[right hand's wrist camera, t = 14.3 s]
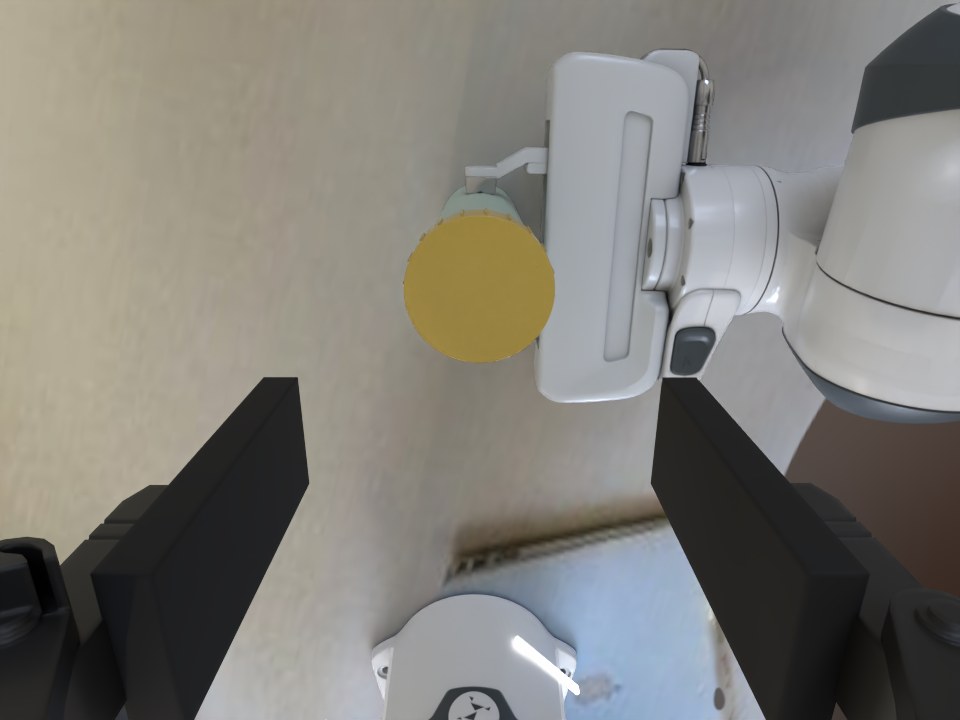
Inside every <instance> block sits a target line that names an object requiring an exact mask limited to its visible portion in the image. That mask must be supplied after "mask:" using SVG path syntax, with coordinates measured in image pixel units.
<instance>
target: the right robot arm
mask: <svg viewBox="0 0 960 720" xmlns="http://www.w3.org/2000/svg"><path fill="white" fill-rule="evenodd" d="M308 485H309V476H308V467H307V458H306V449H305V440H304V431H303V422H302V413H301V403H300V394H299V385H298V377H264V378H263V379H262V380H261V381H260V382H259V383H258V384H257V386H256V387H255V388H254V389H253V390H252V391H251V392H250V394H249V395H248V396H247V397H246V398H245V399H244V400H243V401H242V403H241V404H240V405H239V406H238V407H237V408H236V409H235V410H234V412H233V413H232V414H231V415H230V416H229V417H228V418H227V420H226V421H225V422H224V423H223V424H222V425H221V426H220V427H219V429H218V430H217V431H216V432H215V433H214V434H213V435H212V436H211V438H210V439H209V440H208V441H207V442H206V443H205V444H204V445H203V447H202V448H201V449H200V450H199V451H198V452H197V453H196V455H195V456H194V457H193V458H192V459H191V460H190V461H189V462H188V464H187V465H186V466H185V467H184V468H183V469H182V470H181V471H180V473H179V474H178V475H177V476H176V477H175V478H174V479H173V481H172V482H171V483H170V484H169V485H149V486H147V487H146V488H144V489H142V490H141V491H139V492H137V493H136V494H134V495H132V496H131V497H129V498H127V499H125V500H124V501H122V502H121V503H120V504H119V505H118V506H117V508H116V509H115V510H114V511H113V512H112V513H111V514H110V515H109V516H108V517H107V518H106V519H105V520H104V524H100V525H99V526H98V527H97V528H96V529H95V530H94V531H93V532H92V533H91V534H90V535H89V540H84V542H83V543H82V544H81V545H80V546H79V547H78V548H77V549H76V550H75V551H74V552H73V553H72V554H71V555H70V556H69V557H68V558H67V559H66V560H65V561H64V562H63V563H62V564H61V565H59V561H58V558H57V554H56V550H55V547H54V545H53V544H51V543H50V542H48V541H47V540H45V539H41V538H32V537H21V538H13V539H5V540H1V541H0V720H115V718H116V716H117V715H118V713H119V712H120V710H121V708H122V707H123V705H124V704H125V708H126V712H127V715H128V719H129V720H194V719H195V717H196V715H197V713H198V711H199V709H200V707H201V705H202V702H203V700H204V698H205V696H206V694H207V692H208V690H209V688H210V686H211V684H212V682H213V680H214V678H215V676H216V674H217V672H218V670H219V668H220V666H221V663H222V661H223V659H224V657H225V655H226V653H227V651H228V649H229V647H230V645H231V643H232V641H233V639H234V637H235V635H236V633H237V631H238V629H239V627H240V624H241V622H242V620H243V618H244V616H245V614H246V612H247V610H248V608H249V606H250V604H251V602H252V600H253V598H254V596H255V594H256V592H257V590H258V588H259V586H260V583H261V581H262V579H263V577H264V575H265V573H266V571H267V569H268V567H269V565H270V563H271V561H272V559H273V557H274V555H275V553H276V551H277V549H278V547H279V544H280V542H281V540H282V538H283V536H284V534H285V532H286V530H287V528H288V526H289V524H290V522H291V520H292V518H293V516H294V514H295V512H296V510H297V508H298V505H299V503H300V501H301V499H302V497H303V495H304V493H305V491H306V489H307V487H308ZM651 485H652V487H653V489H654V491H655V493H656V495H657V497H658V499H659V501H660V503H661V505H662V508H663V510H664V512H665V514H666V516H667V518H668V520H669V522H670V524H671V526H672V528H673V530H674V532H675V534H676V536H677V538H678V540H679V542H680V544H681V547H682V549H683V551H684V553H685V555H686V557H687V559H688V561H689V563H690V565H691V567H692V569H693V571H694V573H695V575H696V577H697V579H698V581H699V583H700V586H701V588H702V590H703V592H704V594H705V596H706V598H707V600H708V602H709V604H710V606H711V608H712V610H713V612H714V614H715V616H716V618H717V620H718V622H719V624H720V627H721V629H722V631H723V633H724V635H725V637H726V639H727V641H728V643H729V645H730V647H731V649H732V651H733V653H734V655H735V657H736V659H737V661H738V663H739V666H740V668H741V670H742V672H743V674H744V676H745V678H746V680H747V682H748V684H749V686H750V688H751V690H752V692H753V694H754V696H755V698H756V700H757V702H758V705H759V707H760V709H761V711H762V713H763V715H764V717H765V719H766V720H831V719H832V715H833V712H834V708H835V704H836V702H837V704H838V705H839V707H840V708H841V710H842V712H843V713H844V715H845V716H846V718H847V719H848V720H960V597H957V596H955V595H951V594H948V593H945V592H942V591H939V590H932V589H925V588H924V587H923V586H922V585H921V584H920V583H919V582H918V581H917V580H916V579H915V578H914V577H913V576H912V575H911V573H910V572H909V571H908V570H907V569H906V568H905V567H904V566H903V565H902V564H901V563H900V562H899V561H898V560H897V559H896V558H895V557H894V556H893V555H892V554H891V553H890V552H889V551H888V550H887V549H886V548H885V547H884V546H883V545H882V544H881V543H880V542H879V541H878V540H877V539H876V538H875V537H874V538H872V536H871V533H870V532H869V530H868V529H867V528H866V527H865V526H864V525H863V524H862V523H861V522H857V521H856V517H855V516H854V515H853V514H852V513H851V512H850V511H849V510H848V509H847V508H846V507H845V506H844V505H843V504H842V503H841V502H840V501H839V500H838V499H837V498H835V497H833V496H832V495H830V494H828V493H827V492H825V491H823V490H822V489H820V488H818V487H816V486H815V485H813V484H811V483H789V482H788V481H787V479H786V478H785V477H784V476H783V475H782V474H781V473H780V471H779V470H778V469H777V468H776V467H775V466H774V465H773V464H772V462H771V461H770V460H769V459H768V458H767V457H766V456H765V455H764V453H763V452H762V451H761V450H760V449H759V448H758V447H757V445H756V444H755V443H754V442H753V441H752V440H751V439H750V438H749V436H748V435H747V434H746V433H745V432H744V431H743V430H742V429H741V427H740V426H739V425H738V424H737V423H736V422H735V421H734V420H733V418H732V417H731V416H730V415H729V414H728V413H727V412H726V410H725V409H724V408H723V407H722V406H721V405H720V404H719V403H718V401H717V400H716V399H715V398H714V397H713V396H712V395H711V394H710V392H709V391H708V390H707V389H706V388H705V387H704V386H703V384H702V383H701V382H700V381H699V380H698V379H697V378H696V377H662V385H661V394H660V403H659V413H658V422H657V431H656V440H655V449H654V458H653V467H652V476H651Z"/></svg>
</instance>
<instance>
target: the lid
mask: <svg viewBox="0 0 960 720" xmlns="http://www.w3.org/2000/svg"><path fill="white" fill-rule="evenodd" d="M545 252H547V250H546V248H545V247H544V245H543V243H542V244H540V242H539V240H538V239H537V238H536V236H535V235H534V234H533V233H532V231H531V229H530V227H529V226H527V227H526V226H525V225H524V224H522V223H521V222H520V221H518V220H516V219H515V218H513V217H511V215H510V214H509V213H508V214H507V215H506V214H504V213H501V212H497V211H493V210H487V208H485V209H473V210H466V211H464V209H462V210H461V212H458V213H455V214H453V215H450V216H448V217H446V218H444V219H442V218H441V219H440V220H439V222H438V223H437V224H436V225H434V226H433V227H432V228H431V229H430V230H429V231H428V232H427V233H426V234H425V233H423V235H422V236H421V238H420V242H419V244H418V246H417V248H416V249H415V251H414V253H411V255H410V257H409V259H408V262H409V264H408V267H407V270H406V274H405V280H404V282H403V284H404V298H405V304H406V308H407V311H408V314H409V317H410V319H411V321H412V323H413V325H414V327H415V328H416V330H417V331H418V333H419V334H420V335H421V336H422V337H423V339H424V340H425V341H426V342H427V343H429V344H430V345H431V346H432V347H433V348H435V349H436V350H438V351H439V352H441V353H443V354H445V355H447V356H449V357H451V358H454V359H457V360H461V361H465V362H472V363H487V362H494V361H498V360H502V359H505V358H508V357H510V356H513V355H514V354H516V353H518V352H520V351H521V350H523V349H524V348H526V347H527V346H528V345H529V344H531V343H532V342H533V341H534V340H535V339H536V338H537V336H538V335H539V334H540V333H541V331H542V330H543V328H544V327H545V325H546V323H547V321H548V319H549V317H550V315H551V312H552V308H553V304H554V299H555V280H554V274H555V272H554V270H553V268H552V266H551V264H550V261H549V259H548V257H547V255H546V253H545Z"/></svg>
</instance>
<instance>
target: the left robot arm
mask: <svg viewBox="0 0 960 720" xmlns="http://www.w3.org/2000/svg"><path fill="white" fill-rule="evenodd" d="M698 69H699V70H700V73H701V80H697V77H698ZM714 95H715V83H714V80H711V79H709V72H708V68H707V65H706V63H705V62H704V60H703V59H702V57H700V56H699V55H698V54H697V53H695V52H693V51H691V50H688V49H656V50H653V51H650V52H648V53H647V54H645V55H644V56H643V57H641V58H640V59H635V58H630V57H624V56H617V55H611V54H602V53H590V52H570V53H567V54H565V55H563V56H562V57H561V58H559V59H558V60H557V61H556V62H555V63H554V65H553V66H552V67H551V68H550V70H549V72H548V80H547V101H546V122H545V143H544V147H524V148H522V149H521V150H519V151H517V152H515V153H514V154H512V155H510V156H509V157H507V158H505V159H504V160H502V161H500V162H498V163H497V164H496V166H466V167H465V193H468V194H475V193H478V192H480V191H481V192H482V193H484V194H496V179H499V178H501V177H503V176H504V175H506V174H508V173H510V172H511V171H513V170H515V169H517V168H518V167H520V166H522V165H524V164H525V170H526V171H527V172H528V173H529V174H543V186H542V207H541V228H540V244H542V243H543V245H544V247H545V248H546V250H547V252H545V253H546V255H547V257H548V259H549V261H550V264H551V266H552V268H553V270H554V272H555V274H554V280H555V299H554V304H553V308H552V312H551V315H550V317H549V319H548V321H547V323H546V325H545V327H544V328H543V330H542V331H541V333H540V334H539V335H538V336H537V338H536V339H535V356H534V377H535V383H536V386H537V389H538V391H539V392H540V393H541V394H543V395H544V396H545V397H547V398H548V399H550V400H551V401H554V402H561V403H583V402H600V401H611V400H619V399H626V398H631V397H635V396H637V395H640V394H642V393H644V392H646V391H647V390H648V389H650V388H651V387H652V386H653V384H654V383H655V382H656V380H657V379H658V380H659V381H660V382H661V383H662V377H696V378H697V379H698V380H699V381H700V379H701V377H702V375H703V373H704V371H705V369H706V367H707V365H708V363H709V361H710V359H711V357H712V355H713V353H714V351H715V349H716V347H717V345H718V343H719V341H720V339H721V338H722V336H723V334H724V332H725V330H726V329H727V327H728V325H729V324H730V322H731V320H732V319H733V317H734V315H745V314H750V313H755V312H770V313H773V314H775V315H777V316H779V317H780V318H781V320H782V322H783V327H782V333H783V336H784V338H785V340H786V342H787V343H788V345H789V347H790V349H791V351H792V352H793V354H794V356H795V357H796V359H797V360H798V362H799V364H800V365H801V367H802V368H803V370H804V371H805V373H806V374H807V375H808V377H809V378H810V380H811V381H812V382H813V384H814V385H815V386H816V387H817V389H818V390H819V391H820V392H821V393H822V394H823V395H824V396H825V397H826V398H827V399H828V400H829V401H830V402H831V403H833V404H834V405H835V406H837V407H839V408H840V409H842V410H845V411H847V412H849V413H852V414H855V415H858V416H862V417H865V418H869V419H874V420H879V421H885V422H893V423H908V424H929V423H944V422H953V421H960V3H957V4H949V5H944V6H941V7H940V8H938V9H937V10H935V11H934V12H932V13H931V14H929V15H928V16H926V17H925V18H923V19H922V20H921V21H919V22H918V23H916V24H915V25H914V26H912V27H911V28H910V29H908V30H907V31H906V32H905V33H903V34H902V35H901V36H900V37H899V38H897V39H896V40H895V41H894V42H893V43H892V44H890V45H889V46H888V47H887V48H886V49H884V50H883V51H882V52H881V53H880V54H879V55H878V56H877V57H876V58H875V59H874V60H873V61H871V62H870V63H869V64H868V65H867V66H866V67H865V71H864V75H863V80H862V85H861V89H860V94H859V98H858V103H857V108H856V112H855V116H854V121H853V125H852V130H851V132H852V133H853V138H852V141H851V144H850V147H849V151H848V154H847V157H846V160H845V164H844V167H822V168H817V169H813V170H810V171H806V172H802V173H785V172H781V171H778V170H775V169H772V168H769V167H764V166H744V165H707V164H706V156H707V147H708V139H709V119H710V115H709V114H710V110H711V105H713V101H714ZM687 162H688V163H687ZM682 163H686V165H682ZM371 664H372V667H373V670H374V673H375V677H376V680H377V683H378V686H379V689H380V692H381V695H382V698H383V701H384V705H383V713H382V720H565V711H564V701H565V698H566V695H567V693H568V690H569V689H570V690H571V691H573V692H574V693H575V694H576V695H578V694H579V687H578V685H577V684H576V683H574V682H573V681H572V678H573V676H574V673H575V670H576V667H577V654H576V651H575V650H574V649H573V648H572V647H570V646H569V645H567V644H566V643H564V642H562V641H560V640H558V639H556V638H554V637H553V636H552V635H551V634H550V633H549V632H548V631H547V630H546V628H545V627H544V626H543V624H542V623H541V622H540V621H539V620H538V619H537V618H536V617H535V616H534V615H533V614H532V613H531V612H529V611H528V610H527V609H525V608H524V607H522V606H520V605H518V604H516V603H514V602H512V601H509V600H506V599H503V598H500V597H496V596H490V595H482V594H466V595H458V596H452V597H448V598H445V599H442V600H439V601H436V602H434V603H432V604H430V605H428V606H426V607H425V608H423V609H422V610H420V611H419V612H418V613H416V614H415V615H414V616H413V617H412V618H411V619H410V620H409V621H408V622H407V624H406V625H405V626H404V627H403V628H402V630H401V631H400V632H399V633H398V634H397V635H395V636H393V637H391V638H389V639H387V640H385V641H383V642H382V643H380V644H378V645H377V646H376V647H374V649H373V650H372V657H371Z"/></svg>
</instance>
